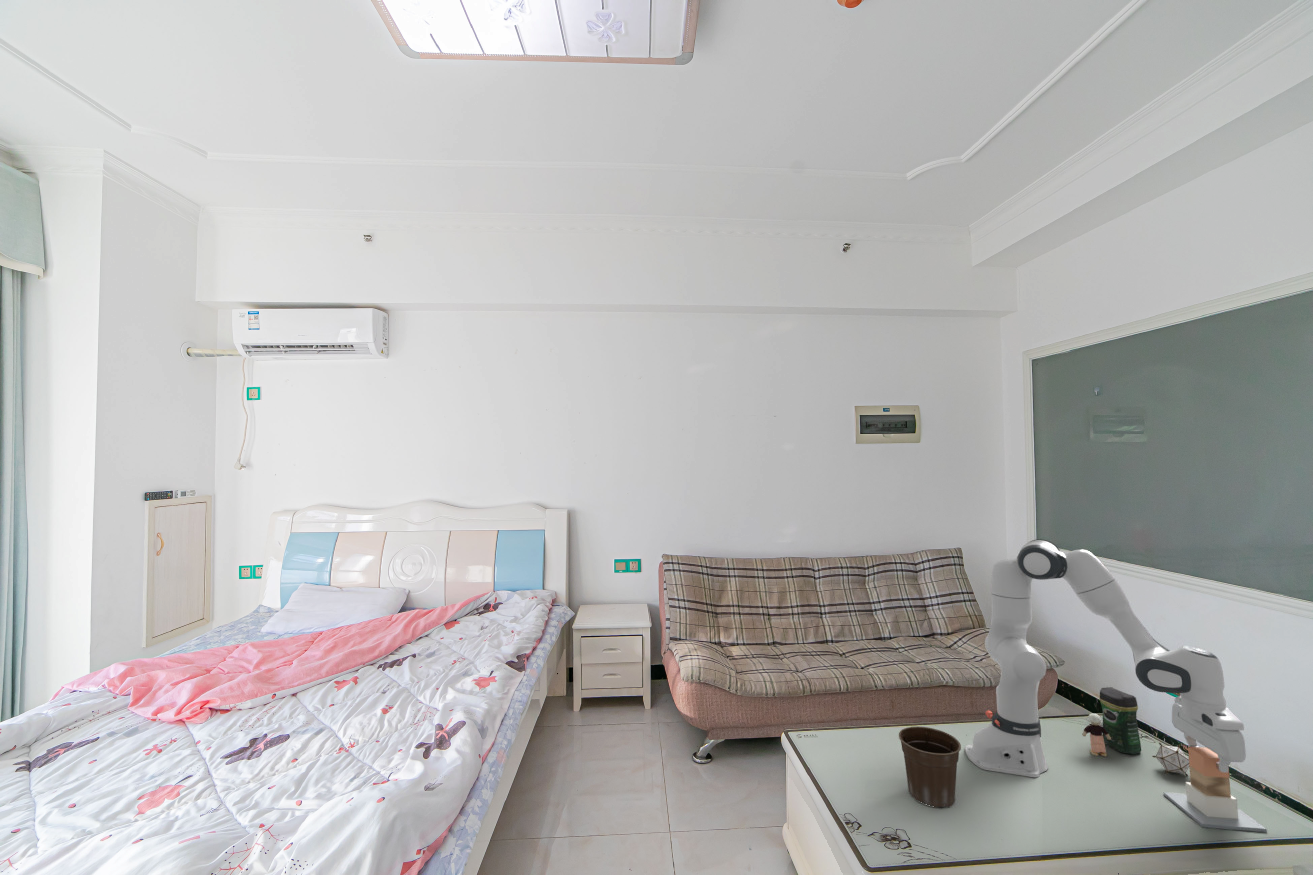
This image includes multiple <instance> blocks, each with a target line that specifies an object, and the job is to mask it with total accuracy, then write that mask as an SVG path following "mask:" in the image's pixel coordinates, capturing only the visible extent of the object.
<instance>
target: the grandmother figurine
mask: <svg viewBox="0 0 1313 875" xmlns="http://www.w3.org/2000/svg"><path fill="white" fill-rule="evenodd" d="M1087 718H1088V721H1089V722H1090V723H1091V724H1089V725H1087V726H1085V728H1083V731H1082V734H1081V735H1082V737H1086V736H1087V735H1088V734H1089V738H1090V739H1089V741H1090V750H1089V752H1090V754H1092V755H1093V756H1099V757H1100V756H1103V757H1108V754H1107V751H1106V744H1105V743H1104V739H1103V733H1104V734H1105V735H1106V737H1107V739H1109V740H1110V739H1111V737H1110V736H1109V734H1108V732H1107V731H1106V730H1105V729H1104V728H1103V725H1100V723H1102V718H1101V716H1100V715H1098V713H1093V712H1092V713H1089V715H1088V716H1087Z"/></svg>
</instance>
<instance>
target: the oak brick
mask: <svg viewBox="0 0 1313 875" xmlns="http://www.w3.org/2000/svg"><path fill="white" fill-rule="evenodd" d="M1188 770H1189V780H1190V782H1191V784H1192V785H1193V786H1194V787H1196V788H1197V789H1198V790H1200V791H1201V792H1202V793H1204V794H1205V795H1207V796H1219V797H1231V783H1230V782H1231V781H1230V777H1229V778H1224V777H1209V776H1204V775H1203V774H1201V773H1200V772H1198V771H1197V770H1196V769H1194V768H1193V767H1191V766H1190V765H1189V768H1188Z"/></svg>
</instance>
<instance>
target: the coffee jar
mask: <svg viewBox="0 0 1313 875" xmlns="http://www.w3.org/2000/svg"><path fill="white" fill-rule="evenodd" d="M1098 698H1099V701H1100V706H1101V709H1102V711H1101V712H1102V727H1103V728H1104V729H1105V730H1106V731H1107V732H1108V734H1109V736H1110V737H1111V739H1110V740H1109V739H1107V737H1106V735H1105V734H1104V733H1102V735H1103V739H1104V743H1105V746H1107V747H1110V748H1112V749H1114V750H1116V751H1118V752H1120V753H1123V754H1130V755H1137V754H1140V753H1141V752H1142V744H1141V739H1140V733H1139V726H1138V720H1137V713H1138V708H1139V705H1138V701H1137V697H1135V695H1132V694H1128V693H1126V692H1124V691H1122V690H1119V689H1116V688H1114V687H1112V686H1109V687H1108V686H1106V687H1101V688H1100V690H1099V697H1098Z"/></svg>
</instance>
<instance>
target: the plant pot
mask: <svg viewBox="0 0 1313 875" xmlns="http://www.w3.org/2000/svg"><path fill="white" fill-rule="evenodd" d="M898 739H899V740H900V743H901V750H902V752H903V758H904V766H905V773H906V780H907V788H908V789H907V790H908V793H909V792H910V793H909V795H910V794H911V795H912V796H911V795H910V796H911V797H912V798H913V799H914V800H915V799H916V800H918V801H920V802H922V803H924V804H927V805H930V806H934V807H933V808H935V807H942V808H941V809H943V808H945V807H947V808H951V807H952V806H954V804H955V801H956V788H957V787H956V786H957V785H956V784H957V769H958V762H959V758H960V757H959V756H960V751H961V750H962V744H961V742H960V741H959V740H958V739H957V738H956V737H954V736H953V735H951V734H950V733H948V732H945V731H943V730H939V729H936V728H934V727H933V728H932V727H928V726H909V727H904V728H903V729H900V731H899V732H898ZM916 800H915V801H916ZM918 801H917V802H918ZM920 802H919V803H920ZM922 803H921V804H922ZM924 804H923V805H924ZM927 805H926V806H927ZM930 806H929V807H930ZM950 806H951V807H950Z"/></svg>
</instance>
